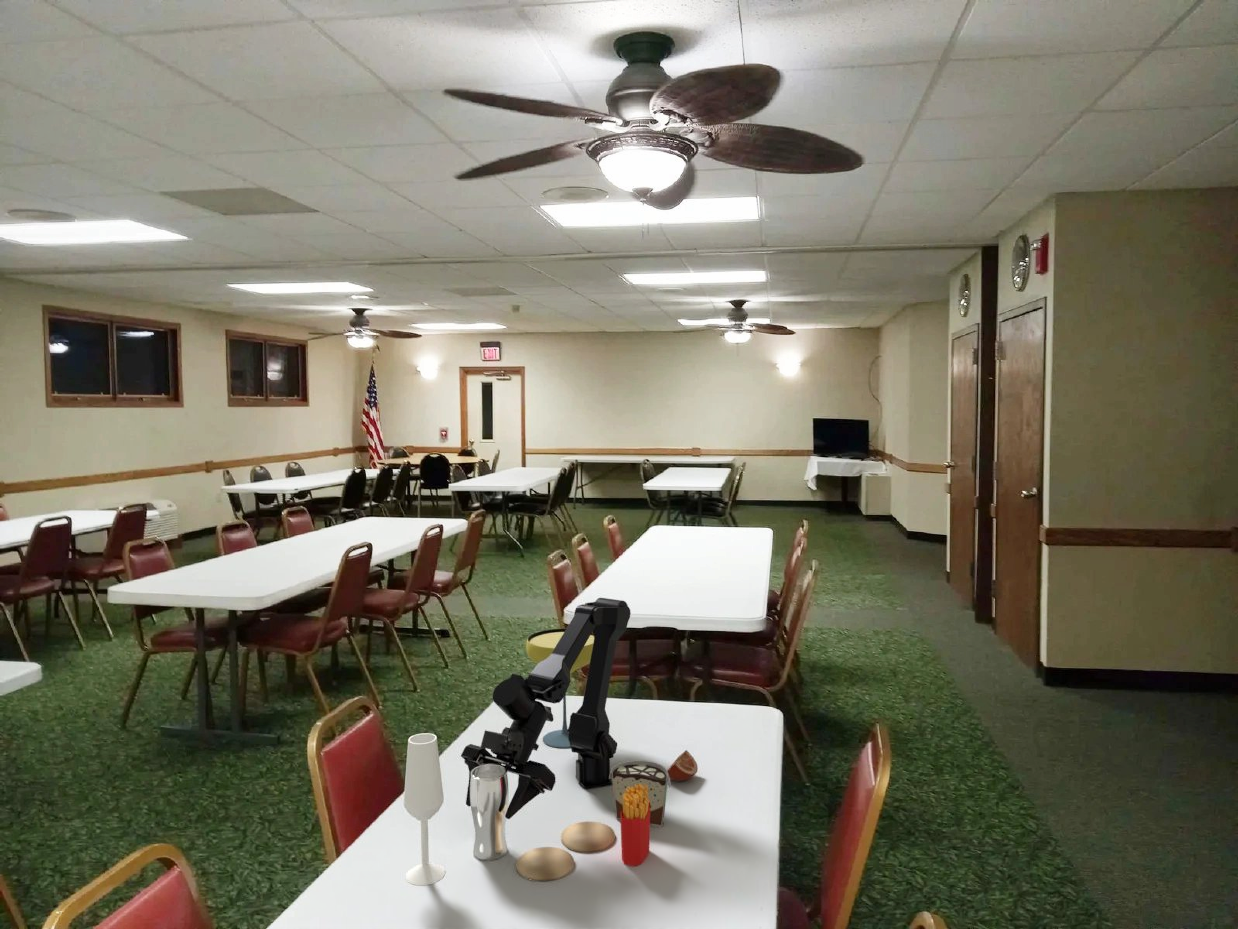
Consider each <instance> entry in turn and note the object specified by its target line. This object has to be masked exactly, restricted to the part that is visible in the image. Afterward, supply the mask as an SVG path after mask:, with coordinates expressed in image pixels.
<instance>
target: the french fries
mask: <svg viewBox="0 0 1238 929" xmlns="http://www.w3.org/2000/svg"><path fill="white" fill-rule="evenodd" d="M644 789H645V791H644ZM625 791H626V793H624V794H623V797H622V800H623V810H622V812H621V813H620V820H619V821H620V839H621V840H620V841H621V842H620V843H621V844H620V845H621V860H622V863H623V865H627V866H631V867H636V866H639V865H642V864H643V863H644V861H645V860H646V858H647V857H648V855H649V854H650V842H651V841H650V833H651V832H650V831H651V825H650V802H649V800H648V786H647V785H645V788H644V787H643V786H642V785H641V784H638V786H637V785H636V784H635V785H634V787H633V786H631V788H630V787H627V789H625Z"/></svg>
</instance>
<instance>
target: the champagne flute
mask: <svg viewBox="0 0 1238 929" xmlns="http://www.w3.org/2000/svg"><path fill="white" fill-rule="evenodd" d="M407 739H408V740H407V752H406V765H405V766H406V767H405V779H404V781H405V782H404V793H403V807H404V808H405V810H406V812H407V813H408V814H409V815H410V817H412V818H415V820H418V821H420V844H421V845H420V846H421V850H420V851H421V863H419V864H418V865H415V866H414V867H412V868H411V869H409V870H408V871H406V874H405V880H406V882H408V883H409V884H411V885H414V886H427V885H432V884H434V883H436V882H439V881H440V880H442V879H443V877H445V874H446V870H445V868H444V867H443V865H440V864H437V863H432V862H429V860H430V859H429V855H430V854H429V852H430V851H429V820H430V819H432V818H433V816H435V815H436V814H437V813H438V812H439V811H440V809H441V807H442V806H443V804H444V799H445V798H444V787H443V781H442V773H441V772H442V771H441V762H440V756H439V755H440V754H439V747H438V746H439V745H438V738H437V735H436V734H434V733H431V732H430V733H427V732H426V733H417V734H413V735H412V736H410V737H409V738H407Z"/></svg>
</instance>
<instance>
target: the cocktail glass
mask: <svg viewBox="0 0 1238 929" xmlns="http://www.w3.org/2000/svg"><path fill="white" fill-rule="evenodd" d="M566 629H567V627H565V628H552V629H545V630H544V629H543V630H540V631H538V632H534V633H532V634H530V635H529V636H528V637H527V640H526V644H525V647H526V648H525V650H526V654H527V656H528V657H529V659H530V660H531V661H532V662H534V663H535V665H537V664H538V663H540V662H541V661H543V660H545V659H547V658H548V657H549V656H550V655H551V653H552V652H553V650H554V648H555V647H556V645H557V643H558V642H559V640H560V638H561V637H562V635H563V634H564V632H565V630H566ZM593 643H594V635H593V632H592V633H591V635H590V637H589V638H588V640H587V642H586V644H585V645H584V647H583V649H582V651H581V652H580V654H579V656H578V657H577V659H576V661H575V663H574V664H573V666H572V668H571V671H570V676H571V675H572V674H573V673H574V672H576V670H579V669H581V668H583V667H585V666H587V665H590V659H591V654H592V648H593ZM566 694H567V693H566ZM566 694H565V696H564V698H563V699H562V702H563V703H562V704H563V705H562V710H563V711H562V714H563V715H562V716H563V717H562V729H557V730H553V731H550V732H548V733H546V734H545V735H543V737H542V741H543V743H544V744H545V745H546V746H549V747H550V748H551V747H552V748H555V747H556V749H569V748H570V749H571V746H570V743H569V740H568V732H567V730H568V722H567V695H566Z"/></svg>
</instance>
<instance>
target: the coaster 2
mask: <svg viewBox="0 0 1238 929" xmlns="http://www.w3.org/2000/svg"><path fill="white" fill-rule="evenodd" d="M560 839H561V844H562V845H563V846H564V847H566V848H567V849H569V850H571V851H574V852H578V853H579V852H580V853H594V852H598V851H599V852H600V851H602V850H605V849H607V848H609V847H610V846H612V845H613V843H614V842H615V839H616V834H615V830H614V829H613V828H612V827H611V826H609V825H608V824H605V823H602V822H598V821H580V822H576V823H573V824H571V825H568V826H567V827H565V828H564V829H563V830H562V832H561V835H560Z"/></svg>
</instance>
